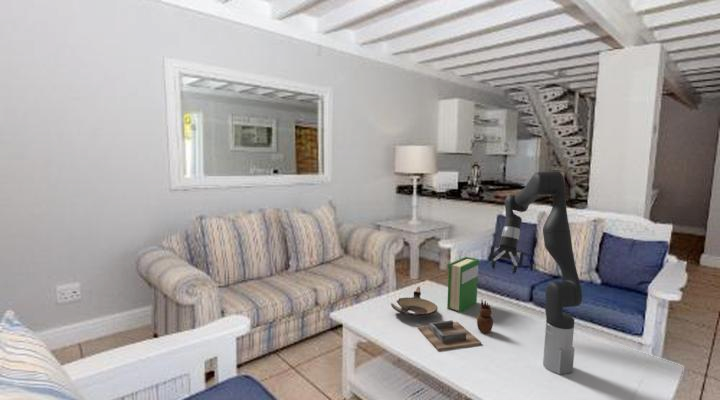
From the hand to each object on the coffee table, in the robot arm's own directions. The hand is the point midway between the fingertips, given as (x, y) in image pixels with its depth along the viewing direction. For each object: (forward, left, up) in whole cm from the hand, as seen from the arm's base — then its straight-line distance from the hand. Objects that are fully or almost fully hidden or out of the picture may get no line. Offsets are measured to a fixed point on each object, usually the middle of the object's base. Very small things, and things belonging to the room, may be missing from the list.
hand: (503, 271), depth 177 cm
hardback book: (+24, +6, -26) cm, 36 cm away
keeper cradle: (-4, +29, -26) cm, 39 cm away
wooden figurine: (-4, +11, -26) cm, 28 cm away
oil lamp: (+23, +32, -26) cm, 47 cm away
